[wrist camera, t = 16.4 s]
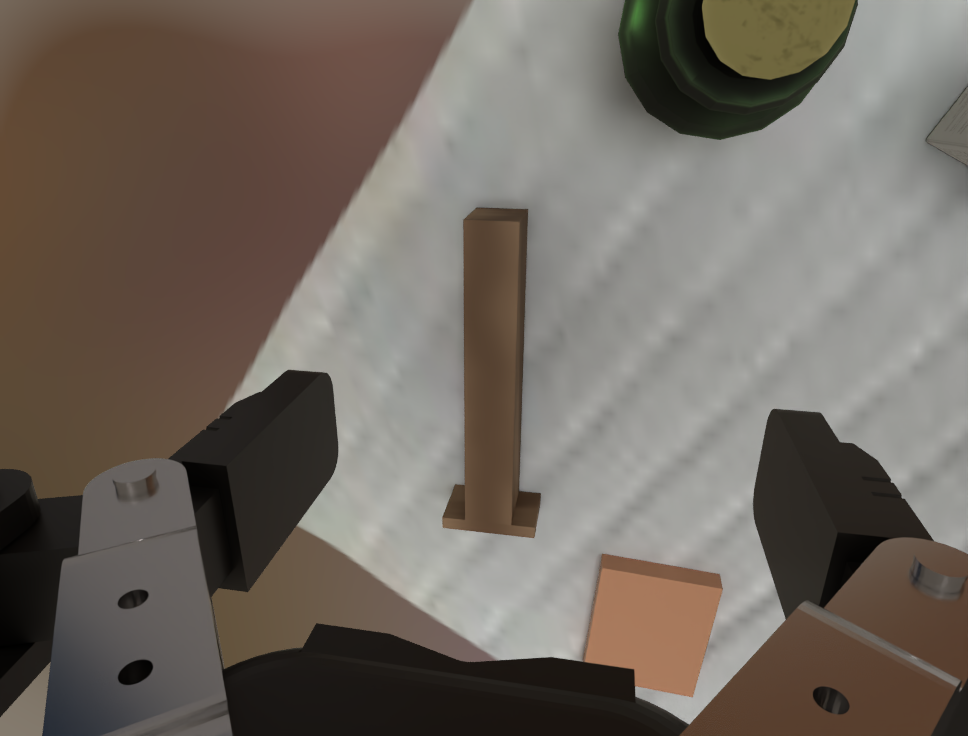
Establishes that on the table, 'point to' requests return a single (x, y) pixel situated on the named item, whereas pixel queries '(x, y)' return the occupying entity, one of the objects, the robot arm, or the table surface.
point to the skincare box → (953, 130)
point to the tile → (652, 621)
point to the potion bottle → (728, 58)
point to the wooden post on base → (493, 377)
